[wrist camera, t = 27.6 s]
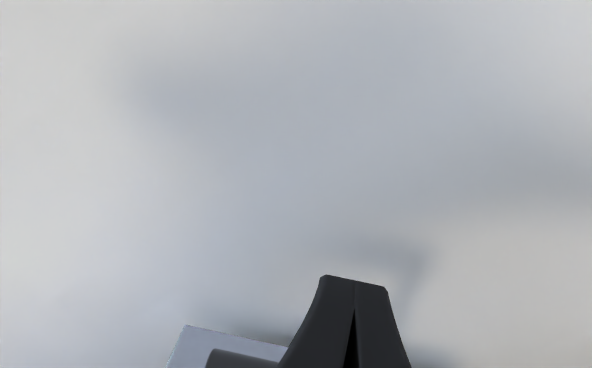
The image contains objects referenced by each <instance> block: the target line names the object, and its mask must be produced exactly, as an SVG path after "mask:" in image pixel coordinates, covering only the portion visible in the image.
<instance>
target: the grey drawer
mask: <svg viewBox="0 0 592 368" xmlns="http://www.w3.org/2000/svg"><path fill="white" fill-rule="evenodd" d="M288 348H289V347H285V346H281V345H276V344H272V343H267V342H262V341H258V340H253V339H249V338H244V337H240V336H235V335H231V334H226V333H222V332H217V331H213V330H208V329H203V328H199V327H194V326H190V325H185V326H184V328H183V330H182V332H181V334H180V336H179V339H178V341H177V343H176V345H175V348H174V350H173V352H172V354H171V356H170V359H169V361H168V363H167V365H166V367H165V368H276V366H277V365H278V363H279V362H280V360H281V359H282V357H283V356H284V354H285V353H286V351H287V349H288Z"/></svg>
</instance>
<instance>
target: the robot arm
mask: <svg viewBox="0 0 592 368" xmlns="http://www.w3.org/2000/svg"><path fill="white" fill-rule="evenodd" d="M276 368H411V365H410V363H409V360H408V357H407V355H406V352H405V349H404V346H403V344H402V341H401V338H400V334H399V331H398V328H397V325H396V322H395V319H394V315H393V312H392V308H391V304H390V300H389V296H388V292H387V290H386V289H385V288H384V287H383V286H378V285H374V284H369V283H364V282H359V281H355V280H350V279H345V278H340V277H336V276H331V275H324V276H322V277H320V280H319V285H318V288H317V291H316V294H315V297H314V299H313V302H312V304H311V306H310V309H309V311H308V313H307V315H306V317H305V319H304V321H303V323H302V325H301V326H300V328H299V330H298V332H297V333H296V335H295V337H294V339H293V341H292V342H291V344H290V346H289V348H288V349H287V351H286V353H285V354H284V356H283V357H282V359H281V360H280V362H279V363H278V365H277V366H276Z"/></svg>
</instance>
